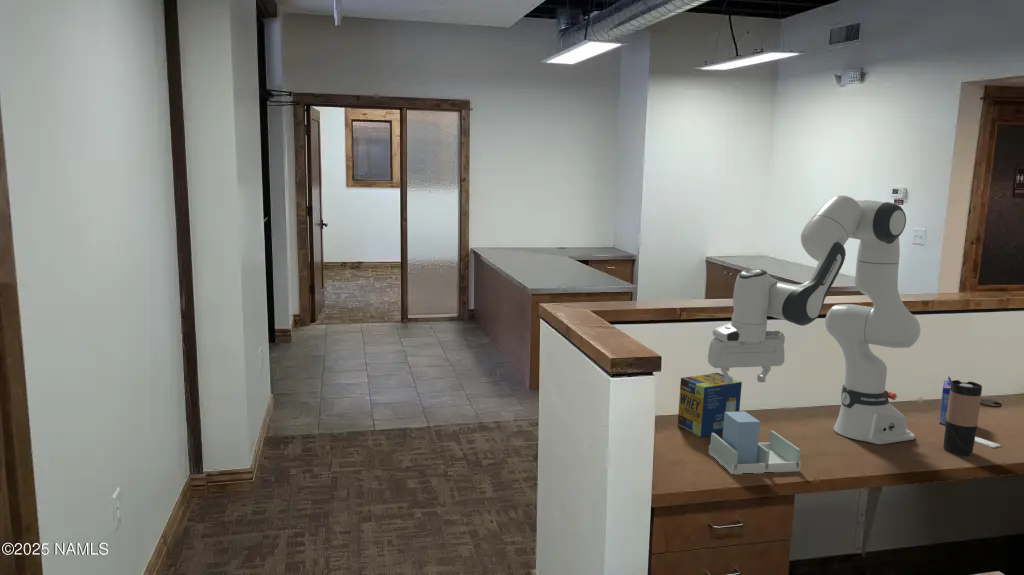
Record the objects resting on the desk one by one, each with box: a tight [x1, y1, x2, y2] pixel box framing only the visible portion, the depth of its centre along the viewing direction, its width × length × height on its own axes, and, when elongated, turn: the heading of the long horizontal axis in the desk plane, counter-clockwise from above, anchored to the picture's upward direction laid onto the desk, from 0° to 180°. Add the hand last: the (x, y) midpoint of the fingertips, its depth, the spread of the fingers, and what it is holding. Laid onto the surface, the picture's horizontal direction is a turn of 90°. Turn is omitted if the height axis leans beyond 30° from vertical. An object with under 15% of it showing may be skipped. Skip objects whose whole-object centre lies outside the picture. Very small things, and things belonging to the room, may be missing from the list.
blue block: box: [721, 410, 761, 464], centre depth 192 cm, size 6×8×12 cm
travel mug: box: [943, 379, 983, 457], centre depth 205 cm, size 8×8×20 cm
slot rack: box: [708, 430, 802, 475], centre depth 194 cm, size 19×14×6 cm
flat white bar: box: [943, 428, 1002, 449], centre depth 217 cm, size 5×15×1 cm, turn 23°
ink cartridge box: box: [939, 375, 953, 425], centre depth 230 cm, size 10×6×14 cm, turn 148°
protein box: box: [677, 372, 743, 438], centre depth 218 cm, size 10×15×16 cm
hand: (744, 382), depth 190 cm, fingers open, 8 cm apart
